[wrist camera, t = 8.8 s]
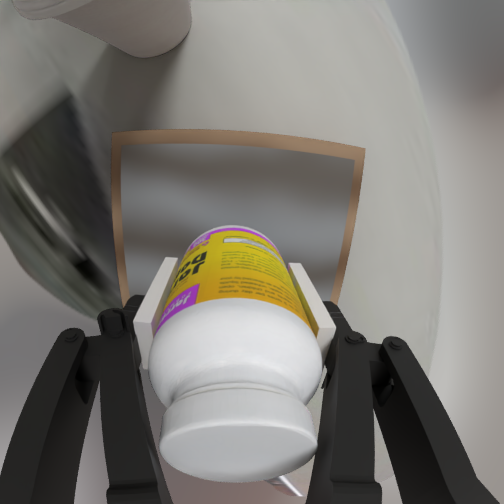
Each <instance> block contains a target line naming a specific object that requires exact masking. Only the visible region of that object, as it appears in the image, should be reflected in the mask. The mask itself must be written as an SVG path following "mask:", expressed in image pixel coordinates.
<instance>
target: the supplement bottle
mask: <svg viewBox="0 0 504 504" xmlns="http://www.w3.org/2000/svg"><path fill="white" fill-rule="evenodd" d="M148 374H149V379H150V382H151V385H152V387H153V389H154V392H155V393H156V395H157V397H158V398H159V399H160V401H161V402H162V403H163V404H164V405H165V406H166V407H167V408H168V409H167V410H166V411H165V413H164V415H163V417H162V426H161V433H160V439H159V451H160V454H161V455H162V457H163V459H164V460H165V461H166V462H167V463H168V464H169V465H171V466H172V467H174V468H175V469H177V470H179V471H181V472H184V473H186V474H188V475H191V476H195V477H198V478H201V479H207V480H211V481H219V482H253V481H260V480H266V479H271V478H275V477H279V476H282V475H285V474H287V473H290V472H292V471H294V470H296V469H298V468H300V467H302V466H303V465H305V464H306V463H307V462H308V461H310V460H311V459H312V457H313V456H314V455H315V453H316V451H317V447H318V443H317V437H316V433H315V428H314V424H313V420H312V416H311V413H310V412H309V410H308V409H307V407H306V405H307V404H308V402H309V401H310V400H311V398H312V397H313V396H314V394H315V392H316V390H317V388H318V385H319V383H320V379H321V375H322V357H321V352H320V348H319V346H318V343H317V340H316V337H315V335H314V333H313V331H312V328H311V326H310V324H309V321H308V319H307V316H306V314H305V311H304V309H303V307H302V304H301V302H300V299H299V297H298V295H297V292H296V290H295V287H294V285H293V282H292V280H291V278H290V275H289V273H288V271H287V268H286V266H285V263H284V261H283V259H282V257H281V255H280V253H279V251H278V249H277V248H276V246H275V245H274V244H273V243H272V242H271V241H270V240H269V239H268V238H267V237H266V236H265V235H263V234H262V233H260V232H258V231H256V230H254V229H251V228H248V227H244V226H237V225H227V226H221V227H216V228H213V229H211V230H209V231H207V232H205V233H203V234H202V235H200V236H199V237H198V238H196V239H195V240H194V241H193V242H192V244H191V245H190V246H189V248H188V249H187V251H186V253H185V255H184V257H183V259H182V261H181V264H180V266H179V269H178V272H177V274H176V277H175V280H174V282H173V284H172V287H171V290H170V293H169V296H168V298H167V301H166V304H165V307H164V310H163V313H162V316H161V319H160V322H159V324H158V327H157V330H156V333H155V336H154V339H153V342H152V345H151V349H150V352H149V357H148Z"/></svg>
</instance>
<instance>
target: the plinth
mask: <svg viewBox="0 0 504 504" xmlns="http://www.w3.org/2000/svg"><path fill="white" fill-rule="evenodd" d="M364 158H365V148H360V147H356V146H351V145H345V144H340V143H334V142H329V141H323V140H316V139H310V138H303V137H295V136H287V135H279V134H269V133H259V132H246V131H230V130H205V129H162V130H138V131H123V132H112V148H111V197H112V218H113V232H114V244H115V254H116V263H117V271H118V278H119V285H120V291H121V298H122V304H123V308H124V306H125V304H126V303H127V301H128V299H129V298H131V297H132V296H133V295H135V294H136V295H146V294H147V292H148V290H149V288H150V286H151V284H152V282H153V280H154V278H155V276H156V274H157V273H158V271H159V269H160V267H161V265H162V263H163V261H164V259H165V258H166V257H172V258H178V269H179V266H180V264H181V261H182V259H183V257H184V255H185V253H186V251H187V249H188V248H189V246H190V245H191V244H192V242H193V241H194V240H195V239H196V238H198V237H199V236H200V235H202V234H203V233H205V232H207V231H209V230H211V229H213V228H216V227H221V226H227V225H237V226H244V227H248V228H251V229H254V230H256V231H258V232H260V233H262V234H263V235H265V236H266V237H267V238H268V239H269V240H270V241H271V242H272V243H273V244H274V245H275V246H276V248H277V249H278V251H279V253H280V255H281V257H282V259H283V261H284V263H285V266H286V268H287V271H288V264H289V263H301V265H302V266H303V268H304V270H305V272H306V273H307V275H308V277H309V279H310V281H311V282H312V284H313V286H314V288H315V289H316V291H317V293H318V295H319V297H320V298H321V300H322V301H332V302H333V303H334V304H336V305H337V303H338V299H339V295H340V291H341V287H342V283H343V279H344V274H345V270H346V265H347V261H348V256H349V251H350V246H351V241H352V236H353V231H354V226H355V220H356V214H357V208H358V202H359V195H360V189H361V182H362V174H363V166H364Z"/></svg>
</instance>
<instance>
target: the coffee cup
mask: <svg viewBox="0 0 504 504" xmlns="http://www.w3.org/2000/svg"><path fill="white" fill-rule="evenodd" d="M12 2H13V5H14V7H15V8H16V10H17V11H18V12H19V13H20V15H22V16H23V17H25V18H27V19H32V20H40V19H46V18H51V17H52V18H54V19H57V20H59V21H62V22H64V23H67V24H69V25H71V26H74V27H76V28H78V29H80V30H83V31H85V32H87V33H89V34H91V35H93V36H95V37H97V38H99V39H101V40H103V41H105V42H107V43H109V44H111V45H113V46H115V47H117V48H118V49H120V50H122V51H124V52H126V53H128V54H129V55H132V56H135V57H140V58H149V57H154V56H158V55H161V54H164V53H166V52H168V51H170V50H171V49H173V48H174V47H176V46H177V45H178V44H179V43H180V42H181V41H182V40H183V39H184V38H185V37H186V35H187V34H188V32H189V30H190V27H191V22H192V16H191V6H190V0H12Z"/></svg>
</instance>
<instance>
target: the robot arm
mask: <svg viewBox="0 0 504 504" xmlns="http://www.w3.org/2000/svg"><path fill="white" fill-rule="evenodd" d="M177 272H178V258H172V257H166V258H165V259H164V261H163V263H162V265H161V267H160V269H159V271H158V273H157V274H156V276H155V278H154V280H153V282H152V284H151V286H150V288H149V290H148V292H147V294H146V295H136V294H135V295H133V296H132V297H131V298H129V299H128V301H127V303H126V304H125V306H124V308H123V309H119V308H111V309H106V310H104V311H102V312H101V313H100V314H99V315H98V317H97V320H98V324H99V328H100V331H101V335H99V336H90V337H85V334H84V331H82V330H81V329H78V328H69V329H67V330H64V331H63V332H61V334H60V335H59V336H58V338H57V340H56V342H55V343H54V345H53V347H52V349H51V351H50V352H49V355H48V356H47V358H46V360H45V362H44V364H43V366H42V368H41V370H40V372H39V374H38V376H37V378H36V380H35V382H34V385H33V386H32V389H31V391H30V393H29V395H28V397H27V400H26V402H25V404H24V407H23V409H22V412H21V414H20V417H19V419H18V422H17V424H16V427H15V430H14V433H13V435H12V438H11V441H10V444H9V447H8V450H7V453H6V457H5V460H4V463H3V467H2V471H1V475H0V504H74V497H75V489H76V482H77V476H78V470H79V464H80V458H81V453H82V448H83V443H84V439H85V434H86V429H87V426H88V421H89V417H90V412H91V409H92V406H93V402H94V398H95V395H96V391H97V388H98V384H99V381H100V402H101V420H102V432H103V442H104V451H105V458H106V465H107V472H108V478H109V484H110V485H109V488H108V489H107V492H106V497H107V504H173V502H172V499H171V496H170V493H169V491H168V488H167V485H166V481H165V479H164V475H163V472H162V469H161V465H160V462H159V458H158V454H157V451H156V447H155V443H154V439H153V435H152V431H151V427H150V422H149V417H148V413H147V408H146V403H145V398H144V392H143V386H142V380H141V374H140V370H139V366H140V363H141V362H142V366H143V369H148V357H149V352H150V349H151V345H152V342H153V339H154V336H155V333H156V330H157V327H158V324H159V322H160V319H161V316H162V313H163V310H164V307H165V304H166V301H167V298H168V296H169V293H170V290H171V287H172V284H173V282H174V280H175V277H176V274H177ZM288 273H289V275H290V278H291V280H292V282H293V285H294V287H295V290H296V292H297V295H298V297H299V299H300V302H301V304H302V307H303V309H304V311H305V314H306V316H307V319H308V321H309V324H310V326H311V328H312V331H313V333H314V335H315V337H316V340H317V343H318V346H319V348H320V352H321V357H322V371H323V368H324V365H325V366H326V368H327V373H326V376H325V379H324V382H323V384H322V387H321V388H322V389H323V388H324V392H323V401H322V410H321V418H320V426H319V433H318V440H317V443H318V447H317V451H316V453H315V459H314V465H313V470H312V476H311V481H310V486H309V491H308V495H307V500H306V503H305V504H382V488H381V485H380V484H379V483H377V482H375V479H374V466H375V442H374V413H373V408H374V411H375V414H376V417H377V420H378V423H379V426H380V429H381V432H382V435H383V438H384V441H385V444H386V447H387V451H388V454H389V457H390V460H391V464H392V467H393V470H394V474H395V477H396V481H397V484H398V488H399V491H400V496H401V499H402V503H403V504H500V503H499V502H498V501H497V500H496V499H495V498H494V497H493V495H492V494H491V493H490V492H489V491H488V490H487V489H486V488H485V486H484V485H483V484H482V483H481V482H480V481H479V480H478V479H477V477H476V474H475V472H474V470H473V467H472V465H471V463H470V460H469V458H468V456H467V453H466V451H465V449H464V447H463V445H462V443H461V440H460V438H459V437H458V434H457V432H456V430H455V428H454V426H453V424H452V422H451V420H450V418H449V416H448V414H447V412H446V410H445V409H444V407H443V405H442V403H441V401H440V399H439V397H438V396H437V394H436V392H435V390H434V388H433V387H432V385H431V383H430V381H429V380H428V378H427V376H426V374H425V373H424V371H423V369H422V368H421V366H420V364H419V363H418V361H417V359H416V358H415V356H414V354H413V353H412V351H411V350H410V348H409V346H408V345H407V343H406V342H405V341H404V340H402V339H400V338H398V337H393V336H389V337H386V338H385V339H384V340H383V342H382V344H375V343H369V342H367V340H366V338H365V337H364V336H363V335H362V334H360V333H358V332H355V331H352V329H351V327H350V326H349V324H348V322H347V321H346V319H345V317H344V316H343V314H342V313H341V311H340V309H339V308H338V306H337V305H336V304H334V303H333V302H332V301H322V300H321V298H320V297H319V295H318V293H317V291H316V289H315V288H314V286H313V284H312V282H311V281H310V279H309V277H308V275H307V273H306V272H305V270H304V268H303V266H302V265H301V263H289V264H288Z"/></svg>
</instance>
